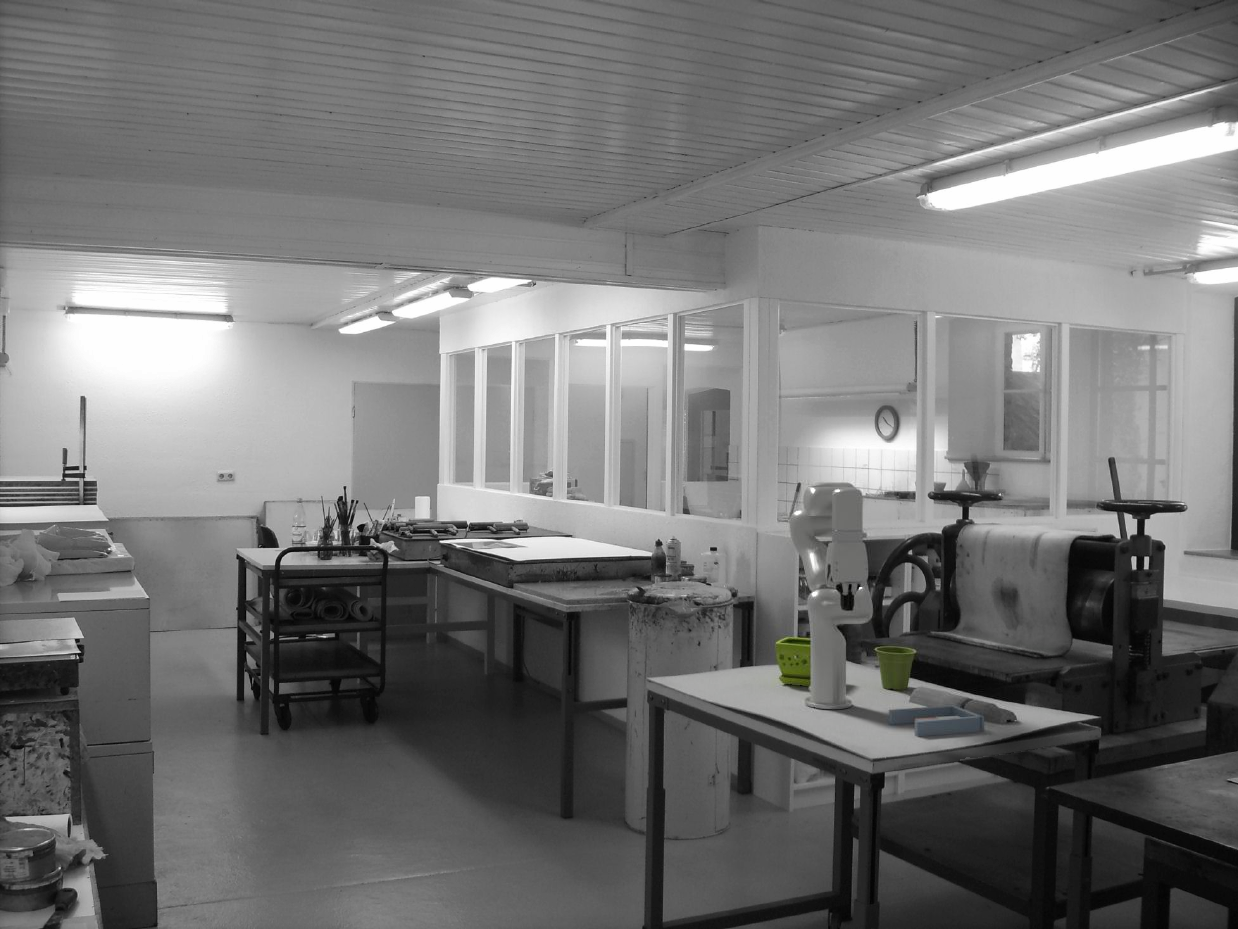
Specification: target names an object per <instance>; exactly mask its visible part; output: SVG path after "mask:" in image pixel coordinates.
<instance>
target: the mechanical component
mask: <svg viewBox="0 0 1238 929" xmlns="http://www.w3.org/2000/svg"><path fill="white" fill-rule="evenodd" d="M908 700H909V701H908V702H909V703H912V704H916V705H919V706H923V707H935V706H949V705H954V706H957V707H959V708H962V709H964V710H967V711H970V712H972V713H975V714H978V715H980V716H983V717H984V722H988V723H992V724H996V723H997V725H1004V724H1003V723H1006V724H1007V722H1010V721H1015V720H1017V721H1018V718H1017V715H1016V714H1015V712H1014V711H1011V710H1009V709H1005V708H1003V707H999V706H998V705H997V704H995V703H993V702H988V701H984V700H980V699H979V700H978V699H974V698H970V697H967V696H964V695H958V694H954V693H951V692H947V691H942V690H939V689H938V690H937V689H934V688H929V687H927V686H918V687H917V688H915V689H913V691H912V692H911V693H910V698H909V699H908ZM1007 720H1008V721H1007Z"/></svg>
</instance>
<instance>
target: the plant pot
mask: <svg viewBox="0 0 1238 929" xmlns="http://www.w3.org/2000/svg"><path fill="white" fill-rule="evenodd" d="M874 651H875V652H876V655H877V659H878V666H879V673H880V679H881V687H882V688H883V689H886V690H891V689H893V690H894V691H904V690H907V689H908V687H909V683H910V682H909V681H910V678H911V677H910V676H911V671H912V665H913V661H914V659H915V655H916V654H917V651H916V649H913V648H911V647H910V648H909V647H903V646H902V647H901V646H879V647H875V648H874Z"/></svg>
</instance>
